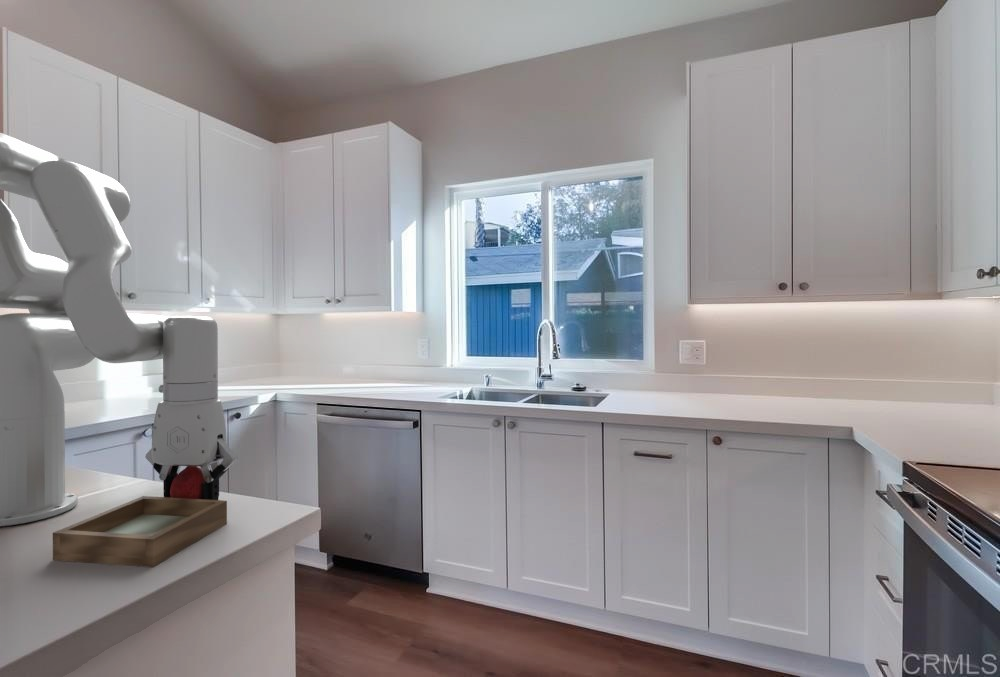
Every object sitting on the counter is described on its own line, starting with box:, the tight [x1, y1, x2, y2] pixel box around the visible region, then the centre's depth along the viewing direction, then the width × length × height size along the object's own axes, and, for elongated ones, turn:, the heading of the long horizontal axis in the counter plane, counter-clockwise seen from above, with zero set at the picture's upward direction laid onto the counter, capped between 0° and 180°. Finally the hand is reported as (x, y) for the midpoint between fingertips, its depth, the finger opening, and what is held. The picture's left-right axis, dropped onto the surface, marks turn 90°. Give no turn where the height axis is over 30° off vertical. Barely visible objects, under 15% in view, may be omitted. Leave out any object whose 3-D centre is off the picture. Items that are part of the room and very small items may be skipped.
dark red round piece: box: [170, 466, 205, 499], centre depth 81 cm, size 6×6×8 cm
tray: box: [52, 495, 228, 568], centre depth 70 cm, size 14×14×4 cm
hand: (191, 502), depth 81 cm, fingers closed on dark red round piece, 5 cm apart
